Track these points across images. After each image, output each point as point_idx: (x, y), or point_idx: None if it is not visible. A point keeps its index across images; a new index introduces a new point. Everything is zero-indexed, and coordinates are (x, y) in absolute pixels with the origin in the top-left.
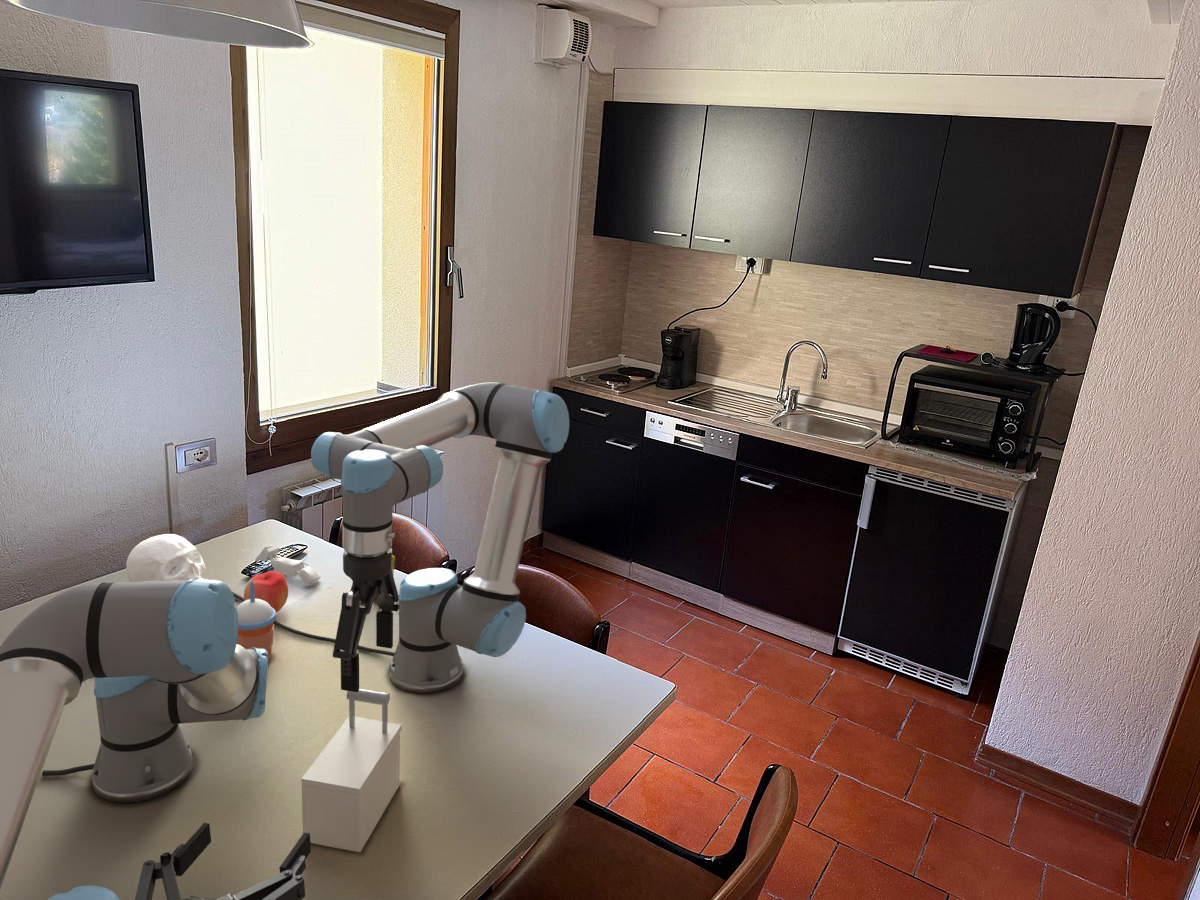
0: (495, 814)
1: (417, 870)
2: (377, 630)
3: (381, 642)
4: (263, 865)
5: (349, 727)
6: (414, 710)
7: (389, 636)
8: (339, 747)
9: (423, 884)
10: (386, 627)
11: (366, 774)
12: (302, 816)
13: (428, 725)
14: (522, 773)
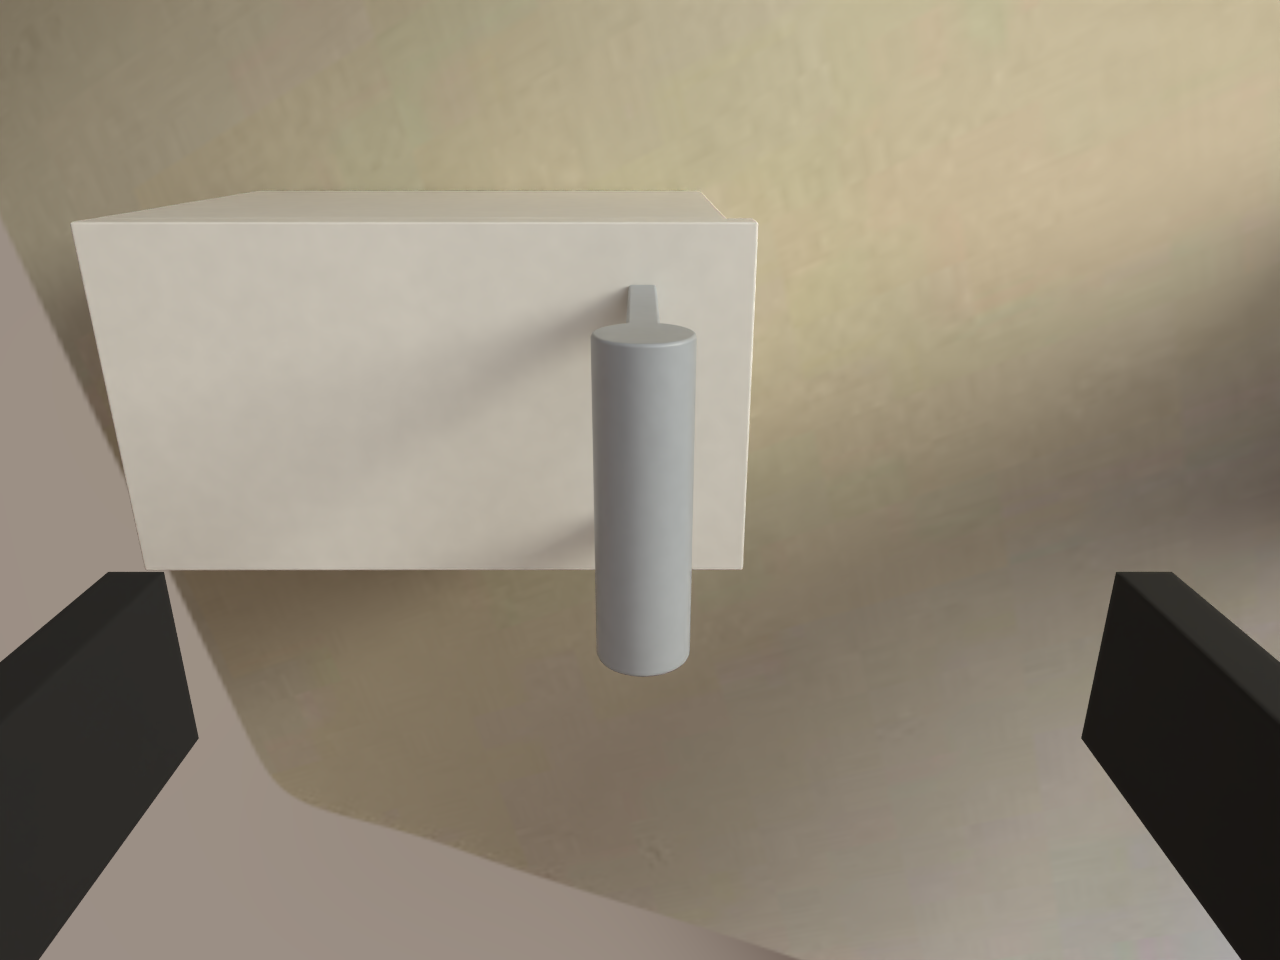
0: (627, 797)
1: (295, 648)
2: (1255, 727)
3: (1137, 667)
4: (79, 90)
5: (631, 284)
6: (1256, 302)
7: (1173, 833)
8: (422, 312)
9: (248, 683)
10: (1272, 905)
11: (262, 557)
12: (200, 200)
13: (1132, 410)
14: (861, 828)
